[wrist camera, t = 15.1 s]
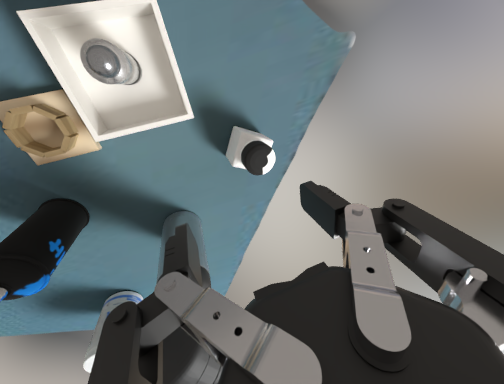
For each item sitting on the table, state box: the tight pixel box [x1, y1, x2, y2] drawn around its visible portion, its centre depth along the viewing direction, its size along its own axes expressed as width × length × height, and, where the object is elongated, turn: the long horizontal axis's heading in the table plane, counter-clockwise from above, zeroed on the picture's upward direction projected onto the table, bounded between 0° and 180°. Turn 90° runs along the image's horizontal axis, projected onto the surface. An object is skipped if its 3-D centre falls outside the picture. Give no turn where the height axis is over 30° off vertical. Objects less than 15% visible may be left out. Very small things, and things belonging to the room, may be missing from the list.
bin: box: [16, 0, 194, 142], centre depth 31 cm, size 16×16×6 cm
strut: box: [80, 38, 142, 85], centre depth 27 cm, size 5×5×14 cm
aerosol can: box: [0, 199, 89, 301], centre depth 32 cm, size 8×8×20 cm
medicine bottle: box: [226, 126, 275, 175], centre depth 41 cm, size 7×7×12 cm
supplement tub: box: [83, 291, 143, 373], centre depth 49 cm, size 10×10×15 cm
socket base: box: [0, 89, 102, 165], centre depth 32 cm, size 10×10×4 cm
